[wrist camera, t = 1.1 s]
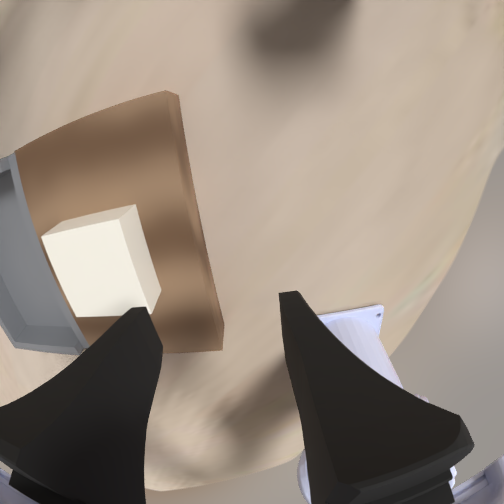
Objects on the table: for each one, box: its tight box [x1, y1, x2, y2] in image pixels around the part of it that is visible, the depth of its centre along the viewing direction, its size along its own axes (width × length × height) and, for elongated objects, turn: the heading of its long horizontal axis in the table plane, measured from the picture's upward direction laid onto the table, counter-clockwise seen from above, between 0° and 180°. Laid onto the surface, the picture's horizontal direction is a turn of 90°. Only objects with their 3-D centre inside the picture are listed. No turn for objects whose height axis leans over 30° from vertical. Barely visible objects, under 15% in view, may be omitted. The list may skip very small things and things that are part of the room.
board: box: [15, 90, 224, 353], centre depth 18 cm, size 18×12×3 cm, turn 7°
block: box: [41, 204, 161, 317], centre depth 15 cm, size 6×6×2 cm
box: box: [0, 153, 90, 355], centre depth 18 cm, size 18×12×4 cm, turn 7°
